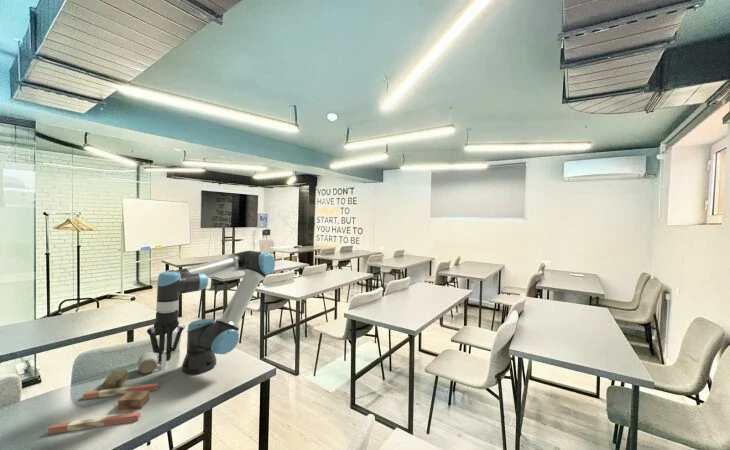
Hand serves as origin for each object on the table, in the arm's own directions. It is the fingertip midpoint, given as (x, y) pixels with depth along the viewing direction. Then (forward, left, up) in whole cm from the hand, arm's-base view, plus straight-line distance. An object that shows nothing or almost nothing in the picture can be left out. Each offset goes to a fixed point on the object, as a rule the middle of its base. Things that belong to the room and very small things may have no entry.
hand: (164, 368), depth 117 cm
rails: (+20, 0, -13) cm, 24 cm away
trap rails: (+17, 0, -13) cm, 22 cm away
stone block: (+22, -17, -14) cm, 31 cm away
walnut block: (+10, 0, -14) cm, 17 cm away
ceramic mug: (+13, -30, -14) cm, 35 cm away
